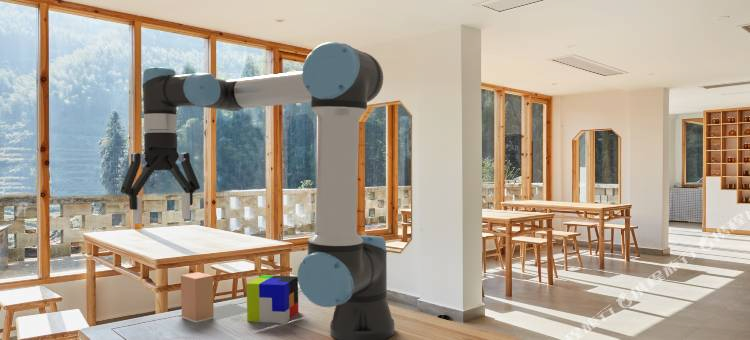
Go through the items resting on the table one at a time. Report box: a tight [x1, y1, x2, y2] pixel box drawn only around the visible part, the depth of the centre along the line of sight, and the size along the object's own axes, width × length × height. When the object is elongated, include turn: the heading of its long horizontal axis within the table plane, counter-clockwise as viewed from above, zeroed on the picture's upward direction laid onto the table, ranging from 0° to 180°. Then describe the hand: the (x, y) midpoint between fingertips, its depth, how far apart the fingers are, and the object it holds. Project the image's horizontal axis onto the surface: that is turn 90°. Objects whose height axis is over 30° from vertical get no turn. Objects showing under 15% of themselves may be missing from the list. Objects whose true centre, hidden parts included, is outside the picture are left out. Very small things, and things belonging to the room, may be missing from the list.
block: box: [180, 271, 214, 324], centre depth 143 cm, size 7×5×11 cm
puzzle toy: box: [246, 274, 299, 326], centre depth 143 cm, size 10×10×10 cm
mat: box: [177, 303, 247, 325], centre depth 147 cm, size 11×16×1 cm
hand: (162, 221), depth 136 cm, fingers open, 12 cm apart
